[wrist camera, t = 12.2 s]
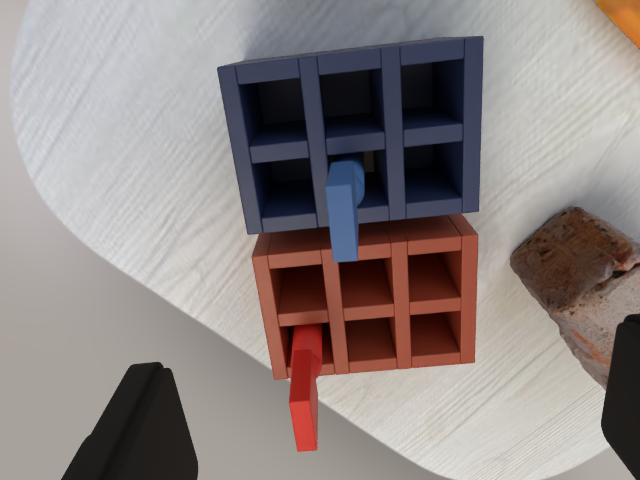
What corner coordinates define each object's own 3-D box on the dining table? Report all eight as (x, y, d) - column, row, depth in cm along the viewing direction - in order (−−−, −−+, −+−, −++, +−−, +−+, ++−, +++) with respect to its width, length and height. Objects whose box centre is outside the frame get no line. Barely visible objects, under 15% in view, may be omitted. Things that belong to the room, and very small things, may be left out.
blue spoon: (338, 177, 31) (323, 263, 19) (334, 129, 30) (314, 187, 17) (365, 175, 31) (367, 260, 18) (362, 126, 30) (362, 183, 17)
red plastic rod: (300, 308, 35) (289, 453, 23) (295, 271, 34) (280, 403, 22) (324, 306, 35) (325, 450, 23) (319, 269, 34) (318, 399, 22)
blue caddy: (263, 192, 33) (247, 235, 25) (242, 61, 29) (216, 67, 22) (443, 174, 32) (479, 212, 25) (443, 37, 29) (484, 35, 21)
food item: (679, 307, 36) (798, 396, 27) (592, 367, 38) (675, 468, 29) (576, 192, 32) (676, 250, 23) (487, 267, 35) (546, 346, 26)
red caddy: (283, 313, 36) (274, 380, 29) (266, 210, 33) (251, 256, 26) (444, 299, 36) (474, 363, 29) (443, 191, 32) (478, 234, 25)
